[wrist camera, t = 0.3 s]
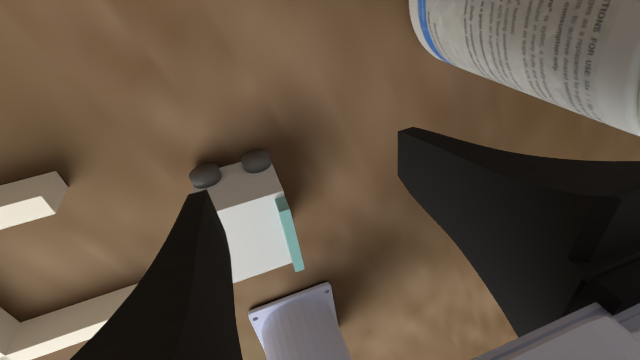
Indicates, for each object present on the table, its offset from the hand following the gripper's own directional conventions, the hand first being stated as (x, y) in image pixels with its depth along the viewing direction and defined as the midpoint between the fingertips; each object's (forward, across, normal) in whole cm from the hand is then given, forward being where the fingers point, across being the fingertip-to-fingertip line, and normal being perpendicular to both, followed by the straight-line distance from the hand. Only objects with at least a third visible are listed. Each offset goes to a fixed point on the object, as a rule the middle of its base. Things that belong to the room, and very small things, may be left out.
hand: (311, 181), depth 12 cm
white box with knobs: (+10, +3, +7) cm, 12 cm away
